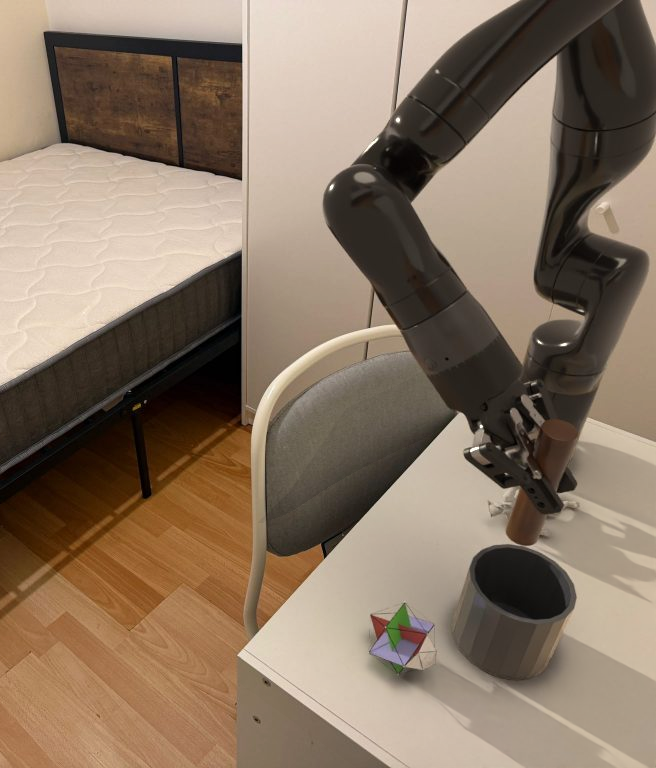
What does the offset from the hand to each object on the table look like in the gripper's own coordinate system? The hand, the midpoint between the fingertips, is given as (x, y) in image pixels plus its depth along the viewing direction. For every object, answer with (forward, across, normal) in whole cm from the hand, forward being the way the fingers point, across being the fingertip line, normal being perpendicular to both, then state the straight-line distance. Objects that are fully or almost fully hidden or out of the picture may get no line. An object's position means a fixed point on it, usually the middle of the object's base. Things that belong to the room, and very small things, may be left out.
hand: (560, 499), depth 69 cm
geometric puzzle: (+10, -10, +21) cm, 25 cm away
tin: (+15, -1, +15) cm, 21 cm away
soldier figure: (+12, +19, +19) cm, 29 cm away
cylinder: (+3, 0, +6) cm, 7 cm away
